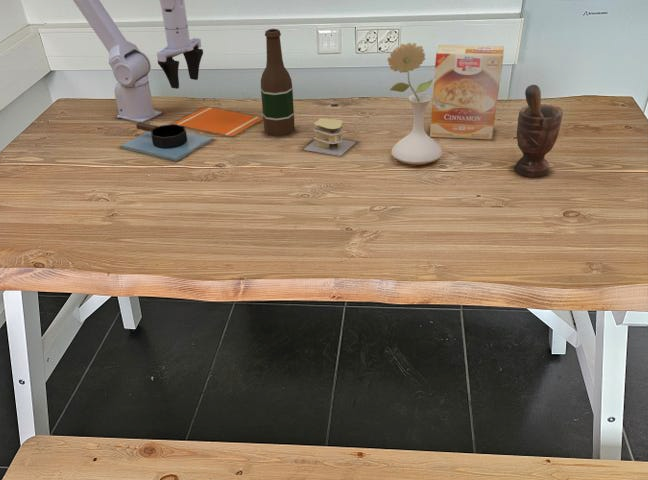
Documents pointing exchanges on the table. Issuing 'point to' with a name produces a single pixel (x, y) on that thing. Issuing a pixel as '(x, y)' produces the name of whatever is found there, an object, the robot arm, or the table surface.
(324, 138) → the stacked layers on plate
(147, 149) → the trivet
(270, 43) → the beer bottle
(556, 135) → the mortar and pestle
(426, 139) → the flower in vase
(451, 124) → the coffeecake box
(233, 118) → the tea towel
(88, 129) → the table surface
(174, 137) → the skillet
